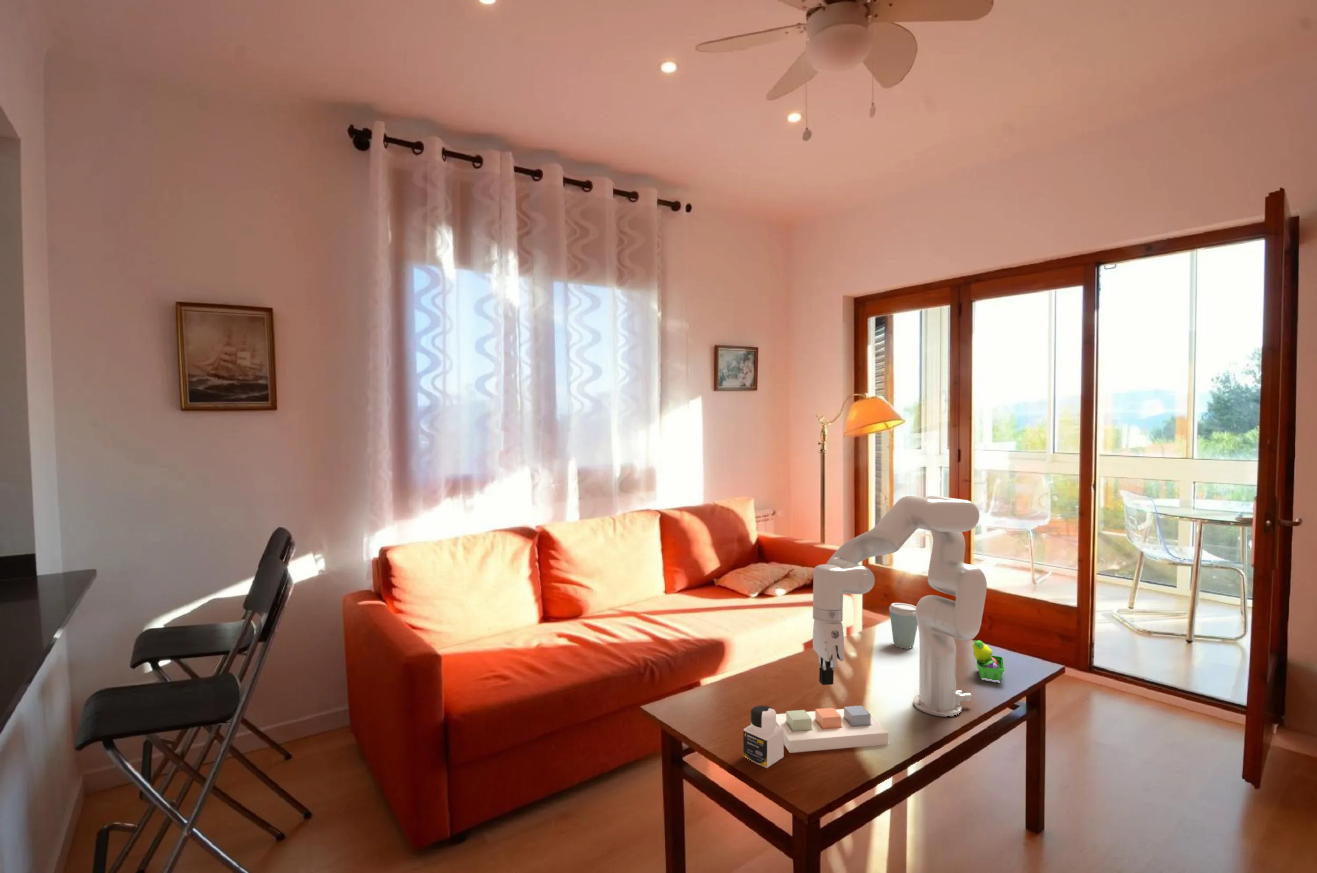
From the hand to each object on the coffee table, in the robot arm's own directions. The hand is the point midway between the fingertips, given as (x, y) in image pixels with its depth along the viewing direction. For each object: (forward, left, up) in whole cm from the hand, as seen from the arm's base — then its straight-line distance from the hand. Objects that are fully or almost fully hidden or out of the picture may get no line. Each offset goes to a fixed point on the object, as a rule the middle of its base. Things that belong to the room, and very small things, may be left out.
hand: (826, 683), depth 164 cm
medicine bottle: (+19, +8, -14) cm, 25 cm away
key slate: (-9, 0, -12) cm, 15 cm away
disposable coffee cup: (-54, -56, -14) cm, 79 cm away
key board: (-1, 0, -14) cm, 14 cm away
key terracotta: (-1, 0, -12) cm, 12 cm away
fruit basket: (-66, -27, -14) cm, 72 cm away
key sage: (+7, 0, -12) cm, 14 cm away
